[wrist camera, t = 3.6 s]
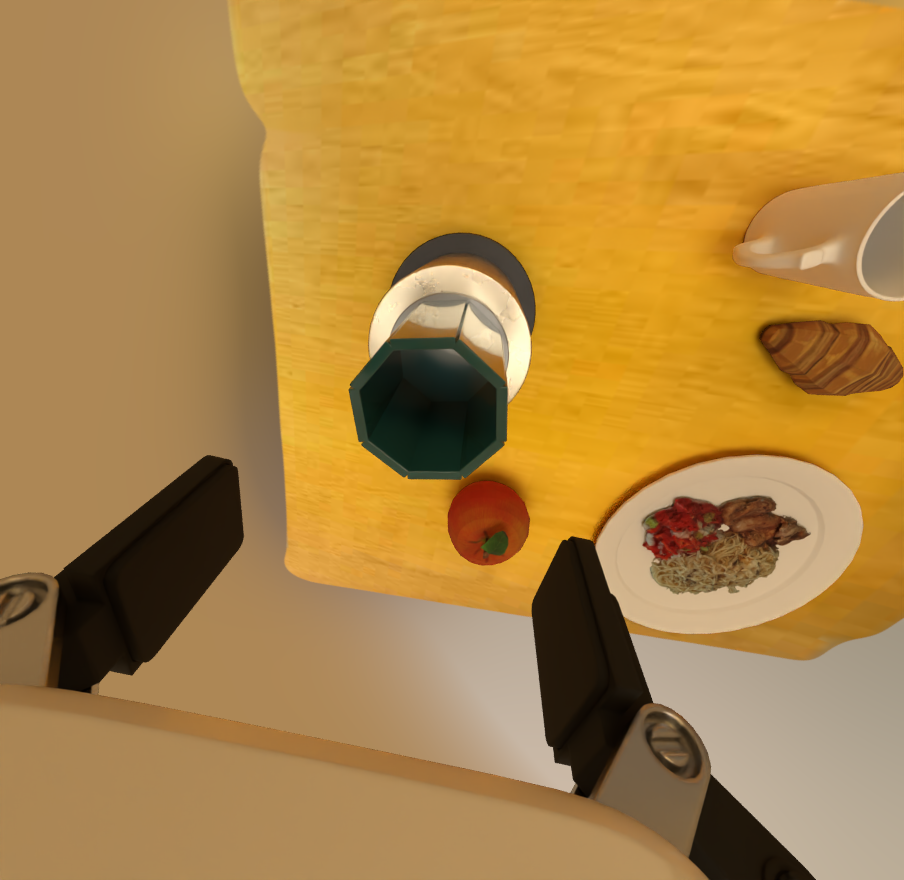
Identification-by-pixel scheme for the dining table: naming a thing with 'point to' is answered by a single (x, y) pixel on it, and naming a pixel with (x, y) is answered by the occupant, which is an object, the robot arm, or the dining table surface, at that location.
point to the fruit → (488, 522)
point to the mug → (833, 237)
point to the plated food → (729, 543)
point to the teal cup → (434, 393)
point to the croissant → (833, 357)
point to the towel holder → (465, 294)
